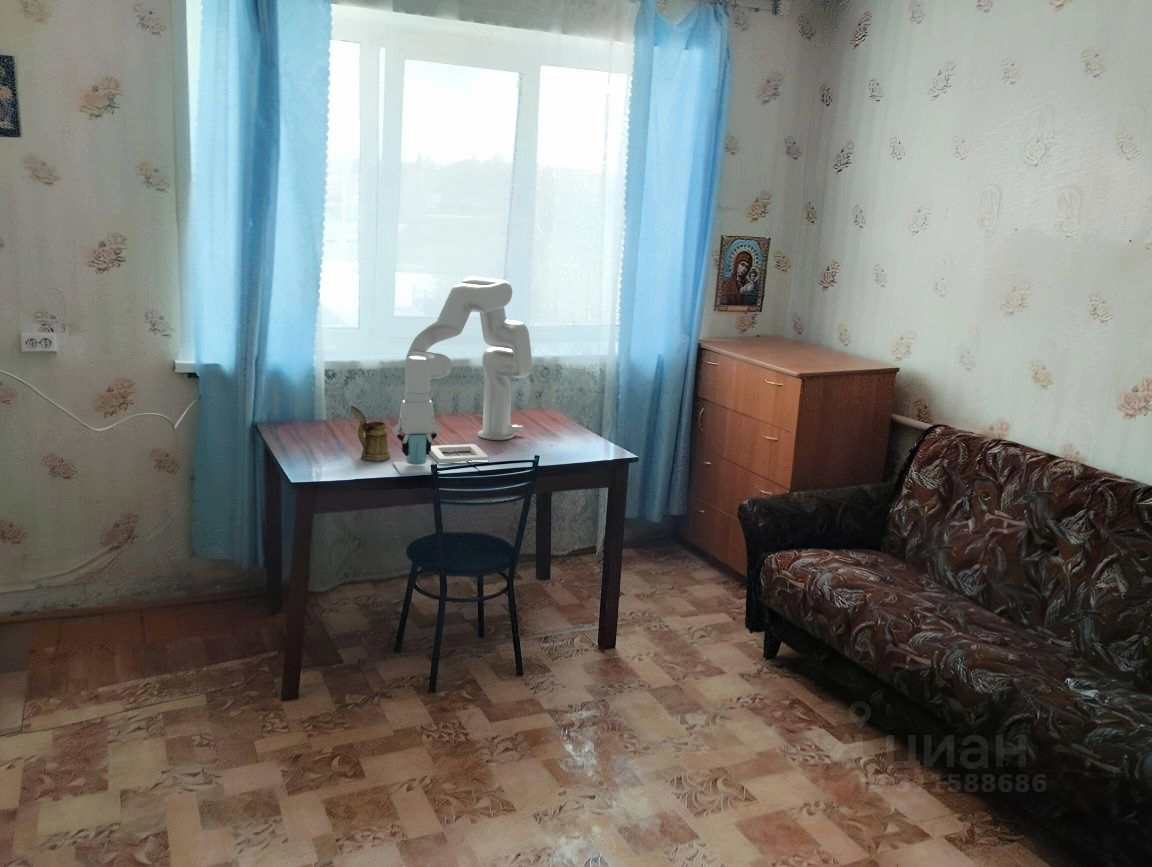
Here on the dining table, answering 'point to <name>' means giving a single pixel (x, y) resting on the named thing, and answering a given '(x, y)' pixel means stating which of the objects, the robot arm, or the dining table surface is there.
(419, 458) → the jug
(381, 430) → the wooden mug
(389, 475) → the dining table surface
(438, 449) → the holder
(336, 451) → the dining table surface
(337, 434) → the dining table surface
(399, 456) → the dining table surface
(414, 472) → the tile
